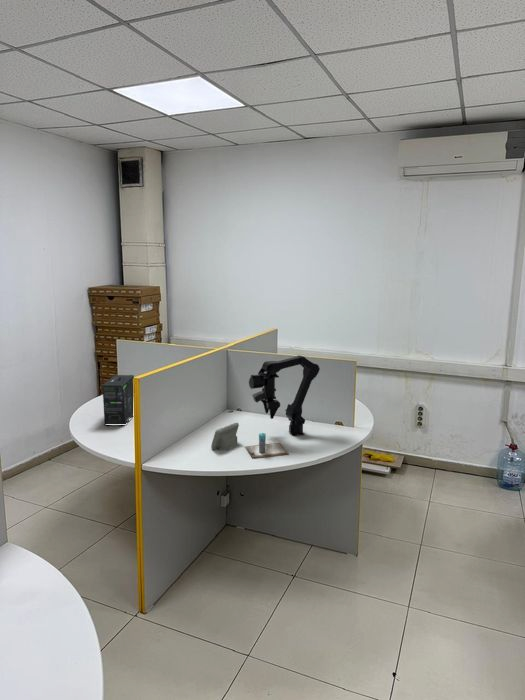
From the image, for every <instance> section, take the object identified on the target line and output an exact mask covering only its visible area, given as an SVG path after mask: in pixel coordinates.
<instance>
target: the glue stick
mask: <svg viewBox="0 0 525 700" xmlns="http://www.w3.org/2000/svg"><path fill="white" fill-rule="evenodd" d="M266 435H267V434H266V433H264V432H262V433H261V432H260V433H258V445H259V453H261V454H264V453H265V444H266Z"/></svg>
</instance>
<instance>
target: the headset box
mask: <svg viewBox="0 0 525 700" xmlns="http://www.w3.org/2000/svg"><path fill="white" fill-rule="evenodd" d="M133 378H134V379H135V376H134V374H114V375H113V376H112V377H110V378H109V379H108V380H107V381H105V382H104V383H103V384H102V385H101V387H102V402H103V416H104V425H105V424H126V423H127V422H128V421H129V419H130V418H131V417H133V418H134V416H133ZM129 422H130V421H129Z"/></svg>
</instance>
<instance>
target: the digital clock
mask: <svg viewBox="0 0 525 700" xmlns="http://www.w3.org/2000/svg"><path fill="white" fill-rule="evenodd" d="M239 426H240V425H239V422H233V423H230V424H228V425H224V426H223V427H220V428H218V429H216V430H215V431H214V435H213V438H212V440H211V446H210V449H212V450H216V449H219V448H220V449H219V450H223V451H227V450H229V449H231V448H233V447H236V446H238V436H237V433H238V430H239Z"/></svg>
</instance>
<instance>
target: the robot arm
mask: <svg viewBox="0 0 525 700" xmlns="http://www.w3.org/2000/svg"><path fill="white" fill-rule="evenodd" d="M295 366H301V367H302V368H303V369H302V380H301V382H300V384H299V387H298V390H297V393H296V394H295V397H294V400H293V402H292V403H291V404H289V403H288V404H287V408H286V409H285V417H286V418H288V421H290V422H289V425H288V433H289V434H290V435H291V436H293V437H294V436H302V435H303V436H304V435H305V433H304V425H305V422H306V419H305V418H304V417H303V416H302V415H303V404H304V401H305V400H306V396H307V393H308V391H309V389H310V386H311V384H312V381H313V380H314V379H315V378H316V377H317V376H318V374H319V372H320V370H321V369H320V366H319V364H318V363H314V362H312V361H311V360H309V359H308V358H306V356H302V355H301V354H300V355H296V356H293V357H289V358H285V359H281V360H266V361H264V362H263V363H262V365H261V368H260V370H259V371H258V372H257V374H251V375H250V377H249V378H248V379H249V380H248V386H249V388H250V389H251V390H253V389H261V391H257V392H256V393H253V394H252V399H253V401H254V402H255V403H259V402H261V403H262V404H263V408H264V412H265V414H268V413H269V416H270V417H269V418H270V419H271V420H273V419H274V417H275V415H276V413H277V411H278V409H279V408H281V402H280V401H279V400H278V399H277V397H276V392H277V388H276V379H278V378H280V376H279V375H278V374H277V373H279V372H280V371H282V370H283V369H287V368H292V367H295Z"/></svg>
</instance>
